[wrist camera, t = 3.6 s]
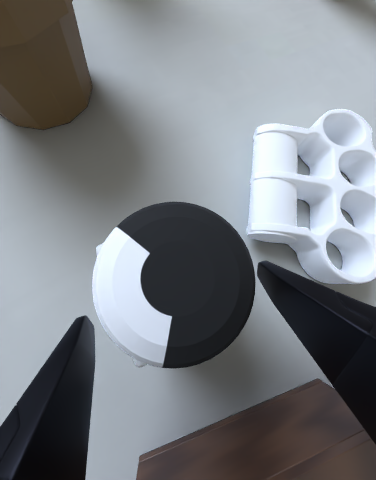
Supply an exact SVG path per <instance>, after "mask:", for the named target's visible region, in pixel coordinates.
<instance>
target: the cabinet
mask: <svg viewBox="0 0 376 480" xmlns="http://www.w3.org/2000/svg"><path fill="white" fill-rule="evenodd" d="M136 480H376V445H375V443H374V442H373V441H372V439H371V438H370V436H369V435H368V434H367V432H366V431H365V429H364V428H363V427H362V425H361V424H360V423H359V421H358V420H357V418H356V417H355V416H354V414H353V413H352V412H351V410H350V409H349V407H348V406H347V405H346V403H345V402H344V401H343V399H342V398H341V396H340V395H339V394H338V392H337V391H336V390H335V389H334V388H332V387H330V386H329V385H327V384H326V383H324V382H322V381H321V380H319V379H315V380H313V381H311V382H309V383H306V384H304V385H302V386H299V387H297V388H295V389H293V390H290V391H288V392H286V393H283V394H281V395H279V396H276V397H274V398H272V399H270V400H267V401H265V402H263V403H260V404H258V405H256V406H253V407H251V408H249V409H247V410H244V411H242V412H240V413H237V414H235V415H233V416H230V417H228V418H226V419H224V420H221V421H219V422H217V423H214V424H212V425H210V426H207V427H205V428H203V429H201V430H198V431H196V432H194V433H191V434H189V435H187V436H184V437H182V438H180V439H178V440H175V441H173V442H171V443H168V444H166V445H164V446H161V447H159V448H157V449H155V450H152V451H150V452H148V453H145V454H143V455H141V456H140V458H139V464H138V471H137V477H136Z"/></svg>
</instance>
